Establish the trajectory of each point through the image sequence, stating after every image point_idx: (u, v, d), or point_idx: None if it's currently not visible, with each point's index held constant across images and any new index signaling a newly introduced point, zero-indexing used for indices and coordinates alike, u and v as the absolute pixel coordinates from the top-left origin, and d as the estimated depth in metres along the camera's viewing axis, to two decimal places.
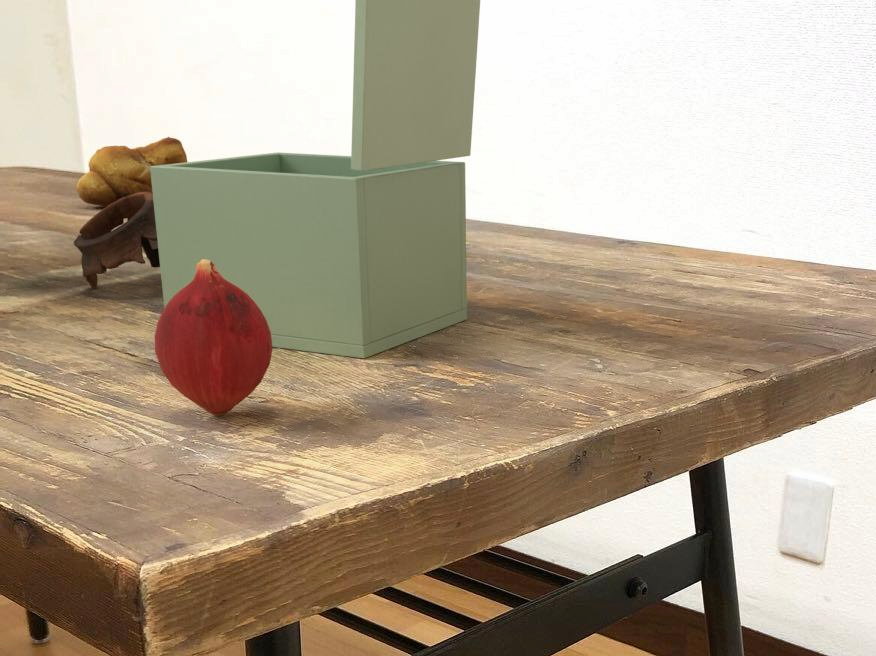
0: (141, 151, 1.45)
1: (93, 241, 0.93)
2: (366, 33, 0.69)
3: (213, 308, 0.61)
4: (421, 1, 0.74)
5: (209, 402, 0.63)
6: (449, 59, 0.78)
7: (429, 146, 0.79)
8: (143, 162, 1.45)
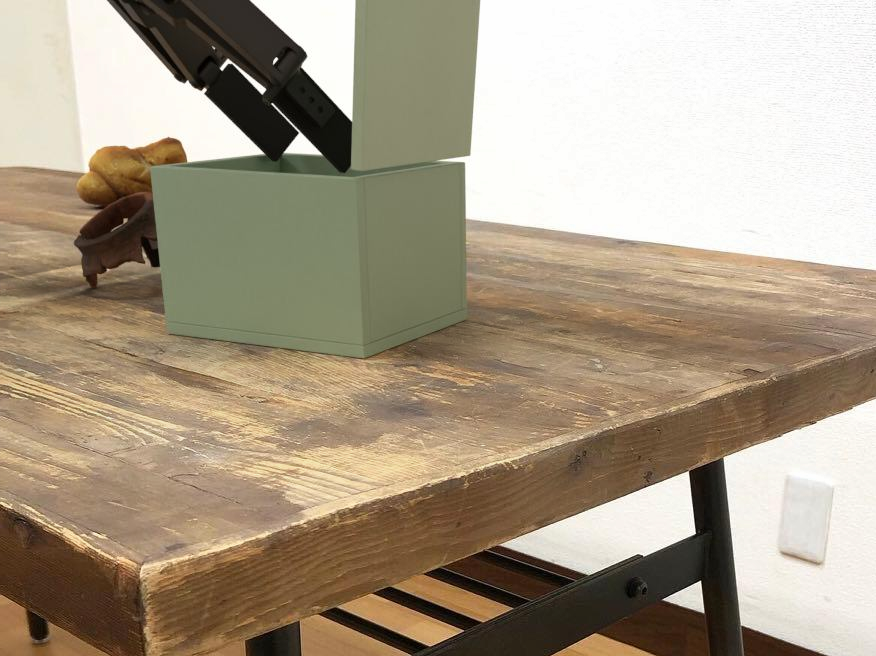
0: (141, 151, 1.45)
1: (93, 241, 0.93)
2: (366, 33, 0.69)
3: None
4: (421, 1, 0.74)
5: None
6: (449, 59, 0.78)
7: (429, 146, 0.79)
8: (143, 162, 1.45)
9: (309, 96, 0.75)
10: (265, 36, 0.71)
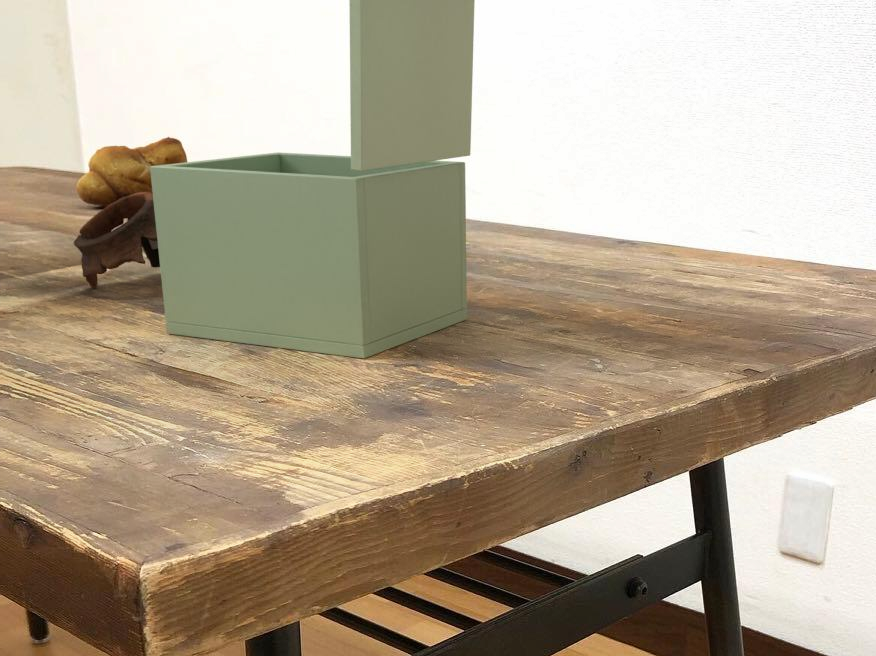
0: (141, 151, 1.45)
1: (93, 241, 0.93)
2: (361, 32, 0.70)
3: None
4: (415, 0, 0.74)
5: None
6: (445, 59, 0.78)
7: (429, 146, 0.79)
8: (143, 162, 1.45)
9: None
10: None
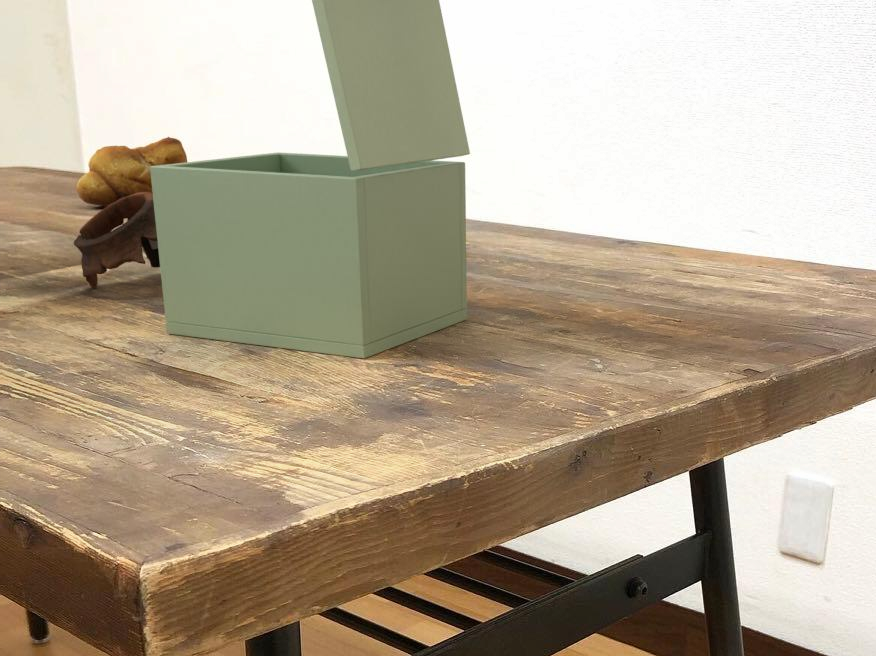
0: (141, 151, 1.45)
1: (93, 241, 0.93)
2: (331, 34, 0.70)
3: None
4: (379, 3, 0.75)
5: None
6: (422, 59, 0.79)
7: (425, 144, 0.79)
8: (143, 162, 1.45)
9: None
10: None
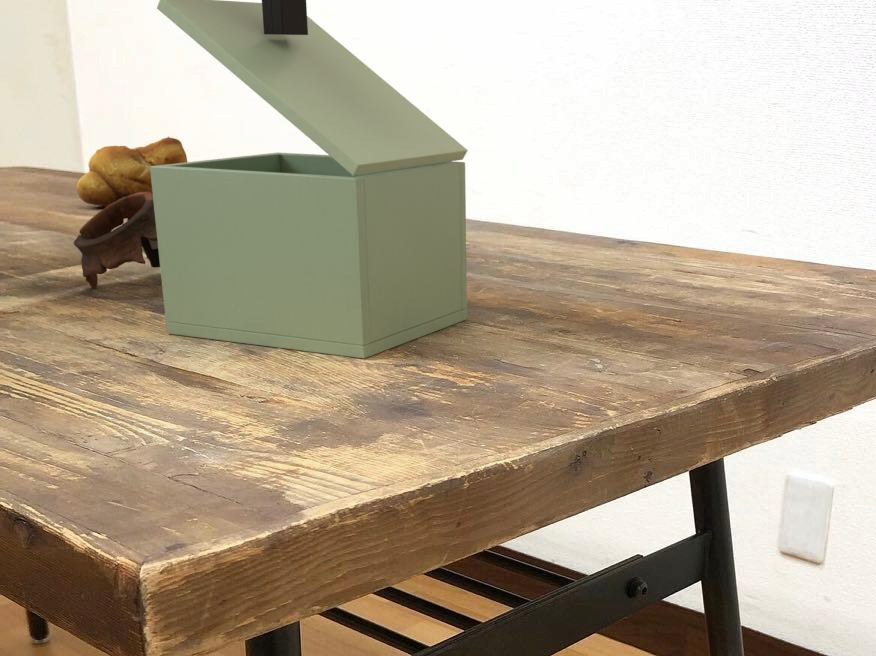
0: (141, 151, 1.45)
1: (93, 241, 0.93)
2: (266, 86, 0.73)
3: None
4: (302, 66, 0.79)
5: None
6: (372, 96, 0.81)
7: (415, 146, 0.79)
8: (143, 162, 1.45)
9: None
10: None
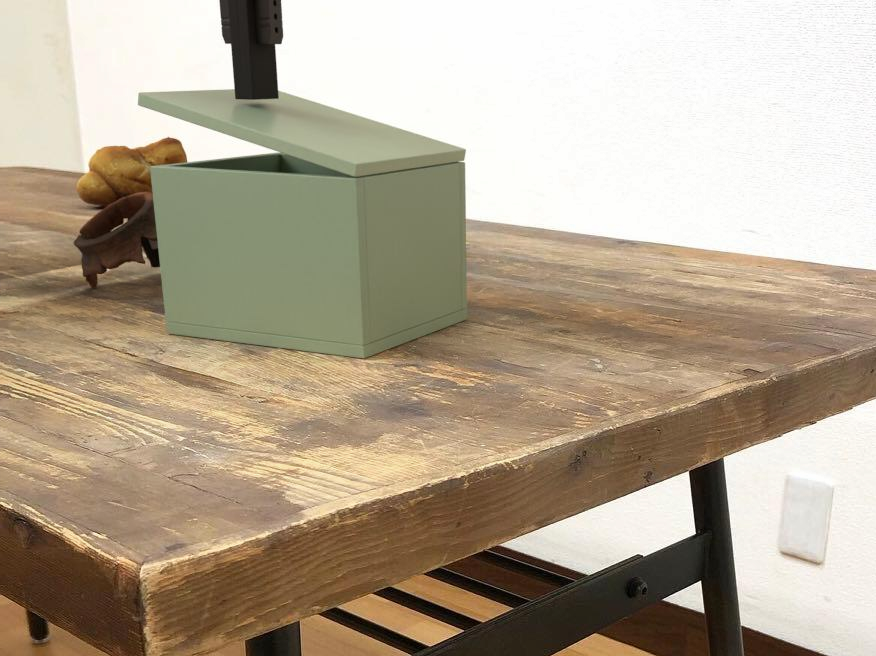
0: (141, 151, 1.45)
1: (93, 241, 0.93)
2: (253, 130, 0.75)
3: None
4: (286, 117, 0.80)
5: None
6: (360, 128, 0.82)
7: (412, 150, 0.79)
8: (143, 162, 1.45)
9: (275, 14, 0.79)
10: None
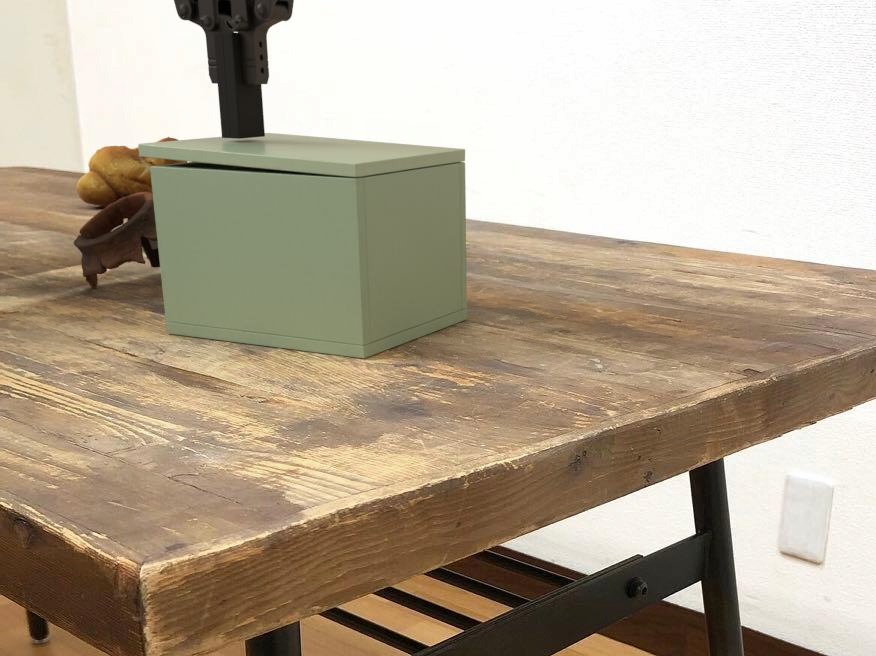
0: None
1: (93, 241, 0.93)
2: (251, 154, 0.75)
3: None
4: (284, 145, 0.81)
5: None
6: (358, 145, 0.83)
7: (411, 153, 0.79)
8: (143, 162, 1.45)
9: (260, 54, 0.81)
10: None
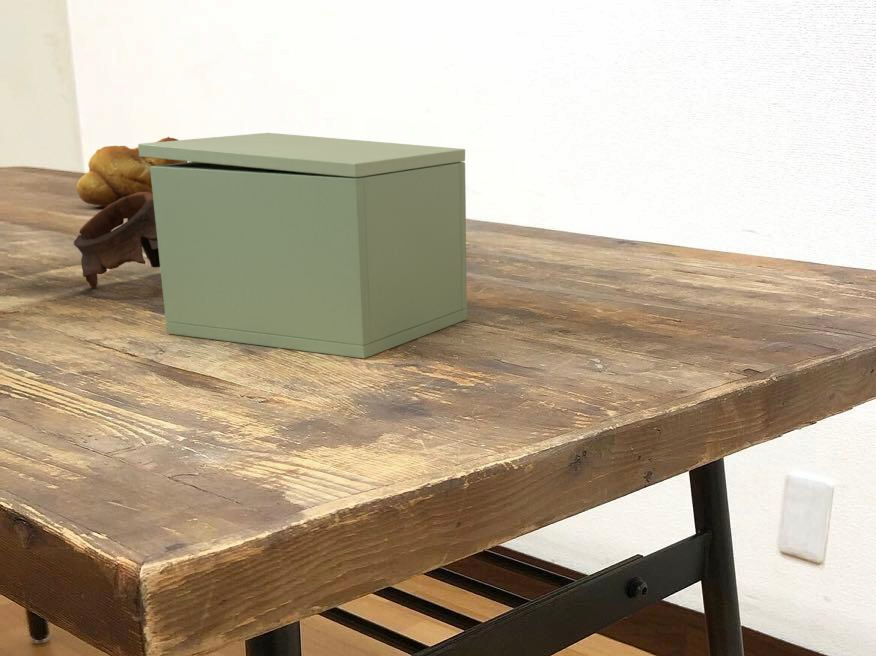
0: None
1: (93, 241, 0.93)
2: (251, 154, 0.75)
3: None
4: (284, 145, 0.81)
5: None
6: (358, 145, 0.83)
7: (411, 153, 0.79)
8: (143, 162, 1.45)
9: None
10: None
